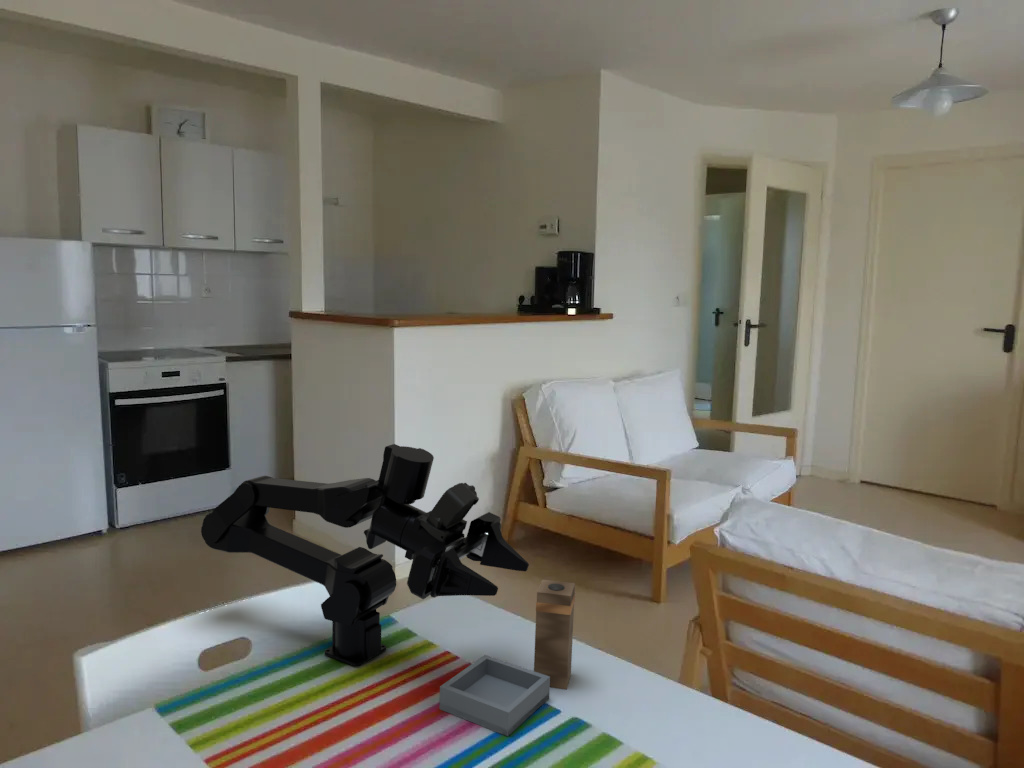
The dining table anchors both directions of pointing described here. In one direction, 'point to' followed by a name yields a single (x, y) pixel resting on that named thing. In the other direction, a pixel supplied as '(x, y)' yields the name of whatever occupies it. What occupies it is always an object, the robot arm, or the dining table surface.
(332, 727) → the dining table surface
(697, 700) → the dining table surface
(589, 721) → the dining table surface
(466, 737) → the dining table surface
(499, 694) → the tray
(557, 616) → the block
